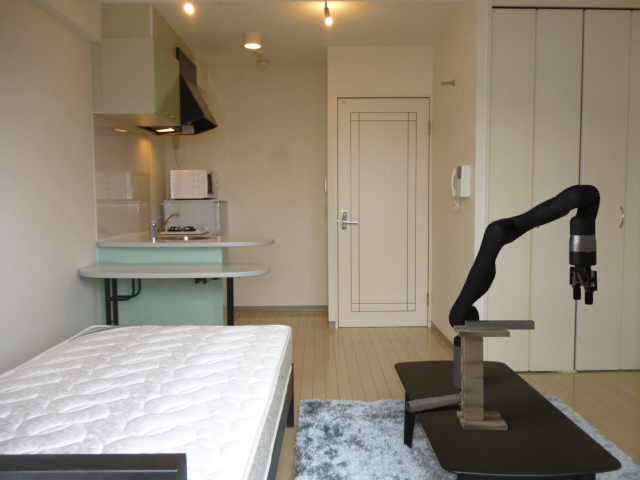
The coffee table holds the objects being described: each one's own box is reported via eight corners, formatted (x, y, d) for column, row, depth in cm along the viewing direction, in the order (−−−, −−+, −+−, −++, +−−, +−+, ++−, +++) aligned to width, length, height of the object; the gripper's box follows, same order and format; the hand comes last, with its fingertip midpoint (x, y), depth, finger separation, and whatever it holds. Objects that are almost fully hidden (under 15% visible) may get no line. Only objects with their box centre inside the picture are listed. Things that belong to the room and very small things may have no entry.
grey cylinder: (404, 399, 180) (469, 385, 183) (407, 416, 181) (472, 402, 184) (408, 404, 175) (475, 390, 178) (411, 422, 176) (478, 408, 179)
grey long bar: (464, 327, 168) (464, 320, 168) (531, 327, 166) (531, 320, 166) (466, 329, 166) (466, 322, 165) (534, 329, 164) (534, 321, 164)
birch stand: (453, 414, 175) (453, 324, 173) (500, 415, 173) (500, 324, 172) (460, 429, 163) (460, 333, 161) (511, 430, 161) (510, 333, 160)
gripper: (560, 248, 160) (561, 298, 161) (579, 251, 146) (579, 306, 147) (585, 248, 159) (585, 298, 160) (606, 250, 145) (606, 306, 146)
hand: (582, 302), depth 153 cm, fingers open, 8 cm apart
